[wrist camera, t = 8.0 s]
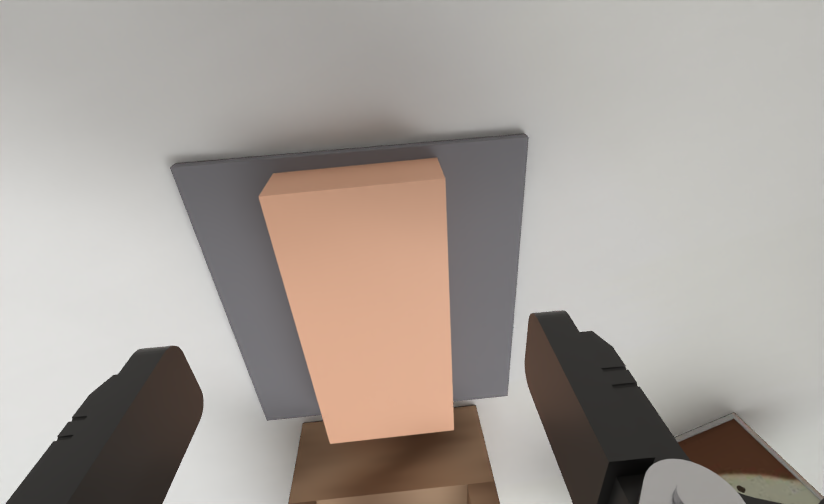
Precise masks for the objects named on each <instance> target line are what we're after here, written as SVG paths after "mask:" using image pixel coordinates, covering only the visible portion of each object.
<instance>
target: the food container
mask: <svg viewBox="0 0 824 504" xmlns="http://www.w3.org/2000/svg"><path fill="white" fill-rule="evenodd" d="M675 439H676V441H677V442H678V444H679V445H680V447H681V448H682V450H683V451H684V452H685V454H686V455H687V456H688V458H689V459H690V460H691V461H692V462H693V463H696V464H699V465H701V466H703V467H705V468H707V469H709V470H711V471H712V472H714V473H716V474H717V475H719V476H720V477H721V478H723V479H724V480H725V481H726V482H728V483H729V484H730V485H731V486H732V487H733V488H734V489H735V490H736V491H737V492H738V493H741V494H744V495H747V496H751V497H754V498H759V499H764V500H768V501H773V502H778V503H782V504H818V503H819V502H820V501H821V500H822V499H823V498H824V497H823V496H822V495H821V494H820V493H819V492H818V491H817V490H816V489H815V488H814V487H813V486H812V485H810V484H809V483H808V482H807V481H806V480H805V479H804V478H803V477H802V476H801V475H800V474H799V473H798V472H797V471H796V470H795V469H794V468H792V467H791V466H790V465H789V464H788V463H787V462H786V461H785V460H784V459H783V458H782V457H781V456H780V455H779V454H778V453H777V452H776V451H774V450H773V449H772V448H771V447H770V446H769V445H768V444H767V443H766V442H765V441H764V440H763V439H762V438H761V437H760V436H759V435H758V434H756V433H755V432H754V431H753V430H752V429H751V428H750V427H749V426H748V425H747V424H746V423H745V422H744V421H743V420H742V419H741V418H740V417H738V416H737V415H736V414H735V413H732V414H729V415H727V416H725V417H722V418H720V419H718V420H715V421H713V422H710V423H708V424H706V425H703V426H701V427H699V428H696V429H694V430H692V431H689V432H687V433H684V434H682V435H680V436H677V437H675Z"/></svg>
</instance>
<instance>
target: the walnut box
mask: <svg viewBox="0 0 824 504" xmlns="http://www.w3.org/2000/svg"><path fill="white" fill-rule="evenodd" d="M453 413H454V430H451V431H442V432H433V433H424V434H415V435H406V436H397V437H388V438H379V439H370V440H361V441H352V442H343V443H334V444H330V442H329V439H328V435H327V432H326V428H325V425H324V421H320V422H311V423H303V425H302V431H301V436H300V442H299V447H298V453H297V458H296V464H295V470H294V475H293V481H292V486H291V492H290V497H289V503H288V504H500V502H499V498H498V494H497V490H496V486H495V482H494V477H493V473H492V469H491V465H490V461H489V457H488V453H487V449H486V445H485V441H484V437H483V433H482V429H481V425H480V420H479V416H478V412H477V408H476V406H466V407H456V408H453Z"/></svg>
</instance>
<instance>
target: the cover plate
mask: <svg viewBox="0 0 824 504" xmlns="http://www.w3.org/2000/svg"><path fill="white" fill-rule="evenodd" d="M258 197H259V200H260V204H261V207H262V211H263V214H264V218H265V221H266V225H267V228H268V232H269V235H270V238H271V242H272V245H273V249H274V252H275V256H276V259H277V263H278V266H279V269H280V273H281V276H282V280H283V283H284V287H285V290H286V294H287V297H288V301H289V304H290V307H291V311H292V314H293V318H294V321H295V325H296V328H297V332H298V335H299V339H300V342H301V345H302V349H303V352H304V356H305V359H306V363H307V366H308V370H309V373H310V376H311V380H312V383H313V387H314V390H315V394H316V397H317V401H318V404H319V408H320V411H321V414H322V418H323V421H324V425H325V428H326V432H327V435H328V439H329V442H330V444H334V443H343V442H352V441H361V440H370V439H379V438H388V437H397V436H406V435H415V434H424V433H433V432H442V431H451V430H454V413H453V384H452V355H451V326H450V297H449V268H448V239H447V211H446V182H445V176H444V174H443V171H442V169H441V166H440V163H439V161H438V158H427V159H417V160H406V161H396V162H386V163H375V164H365V165H354V166H344V167H334V168H323V169H313V170H302V171H292V172H282V173H273V174H272V176H271V177H270V179H269V181H268V182H267V184H266V185H265V187H264V189H263V190H262V192H261V193H260V195H259V196H258Z"/></svg>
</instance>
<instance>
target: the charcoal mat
mask: <svg viewBox="0 0 824 504" xmlns="http://www.w3.org/2000/svg"><path fill="white" fill-rule="evenodd" d="M528 138H529V137H528V136H527V135H526V134H519V135H507V136H495V137H483V138H472V139H460V140H448V141H436V142H425V143H413V144H401V145H389V146H377V147H366V148H354V149H342V150H330V151H319V152H307V153H295V154H283V155H271V156H260V157H248V158H236V159H224V160H212V161H201V162H189V163H177V164H174V165H173V166H172V167H170V168H171V171H172V174H173V176H174V179H175V182H176V184H177V187H178V189H179V192H180V195H181V197H182V200H183V202H184V205H185V208H186V210H187V213H188V215H189V218H190V221H191V223H192V226H193V229H194V231H195V234H196V236H197V239H198V242H199V244H200V247H201V249H202V252H203V255H204V257H205V260H206V262H207V265H208V268H209V270H210V273H211V276H212V278H213V281H214V283H215V286H216V289H217V291H218V294H219V296H220V299H221V302H222V304H223V307H224V309H225V312H226V315H227V317H228V320H229V323H230V325H231V328H232V330H233V333H234V336H235V338H236V341H237V343H238V346H239V349H240V351H241V354H242V356H243V359H244V362H245V364H246V367H247V370H248V372H249V375H250V377H251V380H252V383H253V385H254V388H255V390H256V393H257V396H258V398H259V401H260V403H261V406H262V409H263V411H264V414H265V417H266V419H267V420H277V419H287V418H297V417H306V416H316V415H322V414H321V411H320V408H319V404H318V401H317V397H316V394H315V390H314V387H313V383H312V380H311V376H310V373H309V370H308V366H307V363H306V359H305V356H304V352H303V349H302V345H301V342H300V339H299V335H298V332H297V328H296V325H295V321H294V318H293V314H292V311H291V307H290V304H289V301H288V297H287V294H286V290H285V287H284V283H283V280H282V276H281V273H280V269H279V266H278V263H277V259H276V256H275V252H274V249H273V245H272V242H271V238H270V235H269V232H268V228H267V225H266V221H265V218H264V214H263V211H262V207H261V204H260V200H259V197H258V196H259V195H260V193H261V192H262V190H263V189H264V187H265V185H266V184H267V182H268V181H269V179H270V177H271V176H272V174H273V173H282V172H292V171H302V170H313V169H323V168H334V167H344V166H354V165H365V164H375V163H386V162H396V161H406V160H417V159H427V158H438V161H439V163H440V166H441V169H442V171H443V174H444V176H445V182H446V211H447V239H448V268H449V297H450V326H451V355H452V384H453V401H462V400H472V399H482V398H491V397H501V396H507V394H508V382H509V370H510V358H511V346H512V333H513V321H514V309H515V297H516V284H517V272H518V260H519V248H520V236H521V223H522V211H523V199H524V187H525V174H526V162H527V150H528Z"/></svg>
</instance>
